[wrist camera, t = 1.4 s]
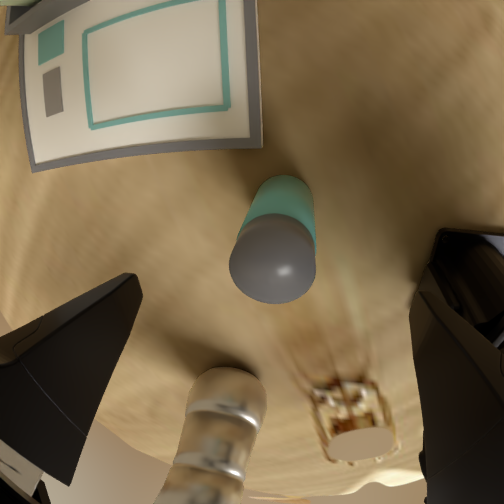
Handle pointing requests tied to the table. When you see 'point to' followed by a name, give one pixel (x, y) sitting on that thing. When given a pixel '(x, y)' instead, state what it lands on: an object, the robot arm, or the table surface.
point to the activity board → (136, 78)
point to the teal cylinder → (276, 243)
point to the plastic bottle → (216, 439)
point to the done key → (19, 2)
